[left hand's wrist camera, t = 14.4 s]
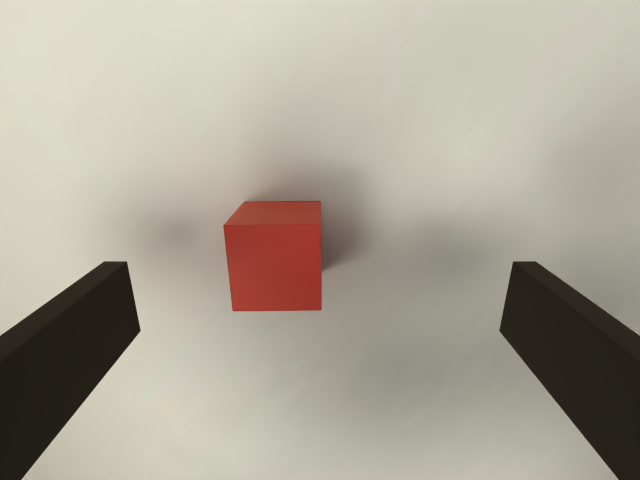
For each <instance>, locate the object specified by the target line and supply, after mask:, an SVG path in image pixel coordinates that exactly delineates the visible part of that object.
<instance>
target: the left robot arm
mask: <svg viewBox="0 0 640 480" xmlns="http://www.w3.org/2000/svg"><path fill="white" fill-rule="evenodd" d="M139 332H140V325H139V320H138V315H137V310H136V305H135V300H134V295H133V290H132V285H131V280H130V275H129V270H128V265H127V262H103V263H102V264H100V265H99V266H97V267H96V268H95V269H93V270H92V271H90V272H89V273H88V274H86V275H85V276H83V277H82V278H81V279H79V280H78V281H76V282H75V283H74V284H72V285H71V286H69V287H68V288H67V289H65V290H64V291H62V292H61V293H60V294H58V295H57V296H55V297H54V298H53V299H51V300H50V301H48V302H47V303H46V304H44V305H43V306H41V307H40V308H39V309H37V310H36V311H34V312H33V313H32V314H30V315H29V316H27V317H26V318H25V319H23V320H22V321H20V322H19V323H18V324H16V325H15V326H13V327H12V328H11V329H9V330H8V331H6V332H5V333H4V334H2V335H1V336H0V480H21V479H22V478H23V477H24V475H25V474H26V473H27V472H28V470H29V469H30V468H31V467H32V465H33V464H34V463H35V462H36V460H37V459H38V458H39V457H40V455H41V454H42V453H43V452H44V451H45V449H46V448H47V447H48V446H49V444H50V443H51V442H52V441H53V439H54V438H55V437H56V436H57V434H58V433H59V432H60V431H61V429H62V428H63V427H64V426H65V424H66V423H67V422H68V421H69V419H70V418H71V417H72V416H73V414H74V413H75V412H76V411H77V409H78V408H79V407H80V406H81V404H82V403H83V402H84V401H85V399H86V398H87V397H88V396H89V394H90V393H91V392H92V391H93V389H94V388H95V387H96V386H97V384H98V383H99V382H100V381H101V380H102V378H103V377H104V376H105V375H106V373H107V372H108V371H109V370H110V368H111V367H112V366H113V365H114V363H115V362H116V361H117V360H118V358H119V357H120V356H121V355H122V353H123V352H124V351H125V350H126V348H127V347H128V346H129V345H130V343H131V342H132V341H133V340H134V338H135V337H136V336H137V335H138V333H139ZM500 332H501V333H502V335H503V336H504V337H505V338H506V340H507V341H508V342H509V343H510V345H511V346H512V347H513V348H514V350H515V351H516V352H517V353H518V355H519V356H520V357H521V358H522V360H523V361H524V362H525V363H526V365H527V366H528V367H529V368H530V370H531V371H532V372H533V373H534V375H535V376H536V377H537V378H538V380H539V381H540V382H541V383H542V384H543V386H544V387H545V388H546V389H547V391H548V392H549V393H550V394H551V396H552V397H553V398H554V399H555V401H556V402H557V403H558V404H559V406H560V407H561V408H562V409H563V411H564V412H565V413H566V414H567V416H568V417H569V418H570V419H571V421H572V422H573V423H574V424H575V426H576V427H577V428H578V429H579V431H580V432H581V433H582V434H583V436H584V437H585V438H586V439H587V441H588V442H589V443H590V444H591V446H592V447H593V448H594V449H595V451H596V452H597V453H598V454H599V455H600V457H601V458H602V459H603V460H604V462H605V463H606V464H607V465H608V467H609V468H610V469H611V470H612V472H613V473H614V474H615V475H616V477H617V478H618V479H619V480H640V336H639V335H638V334H636V333H635V332H634V331H632V330H631V329H629V328H628V327H627V326H625V325H624V324H622V323H621V322H620V321H618V320H617V319H615V318H614V317H613V316H611V315H610V314H608V313H607V312H606V311H604V310H603V309H601V308H600V307H599V306H597V305H596V304H594V303H593V302H592V301H590V300H589V299H587V298H586V297H585V296H583V295H582V294H580V293H579V292H578V291H576V290H575V289H573V288H572V287H571V286H569V285H568V284H566V283H565V282H564V281H562V280H561V279H559V278H558V277H557V276H555V275H554V274H552V273H551V272H550V271H548V270H547V269H545V268H544V267H543V266H541V265H540V264H538V263H537V262H513V265H512V270H511V275H510V280H509V285H508V290H507V295H506V300H505V305H504V310H503V315H502V320H501V325H500Z"/></svg>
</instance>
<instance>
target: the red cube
mask: <svg viewBox="0 0 640 480" xmlns="http://www.w3.org/2000/svg"><path fill="white" fill-rule="evenodd" d="M224 235H225V244H226V253H227V263H228V272H229V281H230V290H231V300H232V309H233V311H301V310H321V302H322V262H321V202H320V201H297V202H244V203H243V204H242V205H241V206H240V207H239V208H238V209H237V211H236V212H235V213H234V214H233V215H232V216H231V218H230V219H229V220H228V221H227V222H226V223H225V224H224Z"/></svg>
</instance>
